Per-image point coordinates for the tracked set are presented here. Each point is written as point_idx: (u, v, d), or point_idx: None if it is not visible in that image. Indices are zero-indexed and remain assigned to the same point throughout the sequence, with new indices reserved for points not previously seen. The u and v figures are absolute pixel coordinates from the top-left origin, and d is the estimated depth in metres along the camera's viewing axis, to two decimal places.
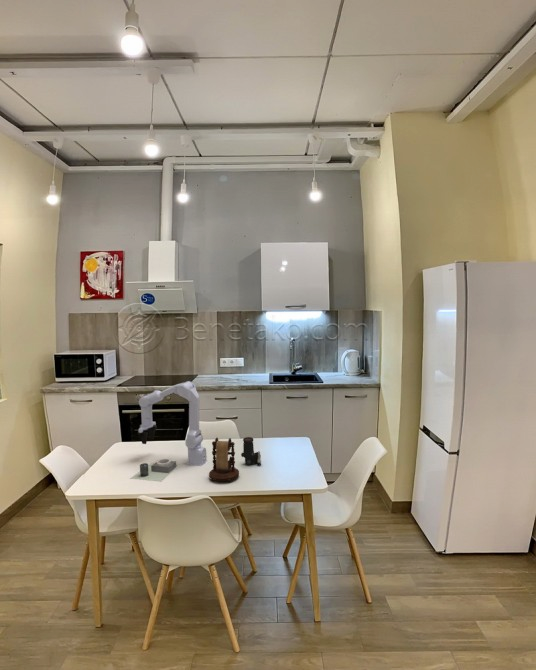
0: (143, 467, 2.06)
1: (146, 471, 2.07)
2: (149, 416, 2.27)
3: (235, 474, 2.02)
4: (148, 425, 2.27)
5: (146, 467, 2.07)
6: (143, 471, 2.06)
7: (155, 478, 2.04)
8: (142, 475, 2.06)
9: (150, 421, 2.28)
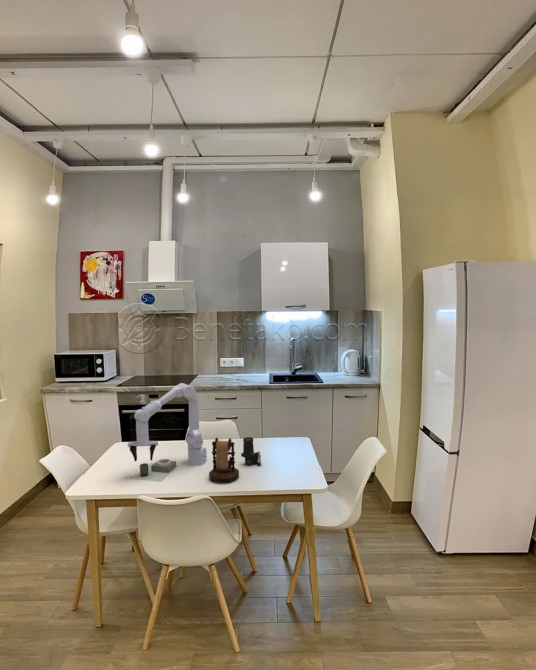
0: (143, 467, 2.06)
1: (146, 471, 2.07)
2: None
3: (235, 474, 2.02)
4: (137, 442, 2.05)
5: (146, 467, 2.07)
6: (143, 471, 2.06)
7: (155, 478, 2.04)
8: (142, 475, 2.06)
9: (139, 439, 2.04)
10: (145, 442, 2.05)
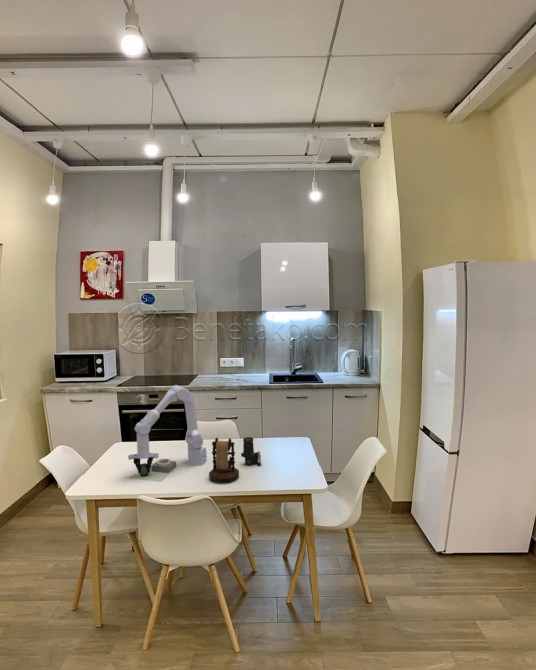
0: (143, 467, 2.06)
1: (146, 471, 2.07)
2: (148, 443, 2.07)
3: (235, 474, 2.02)
4: (138, 455, 2.05)
5: (146, 467, 2.07)
6: (143, 471, 2.06)
7: (155, 478, 2.04)
8: (142, 475, 2.06)
9: (140, 451, 2.05)
10: (146, 455, 2.05)
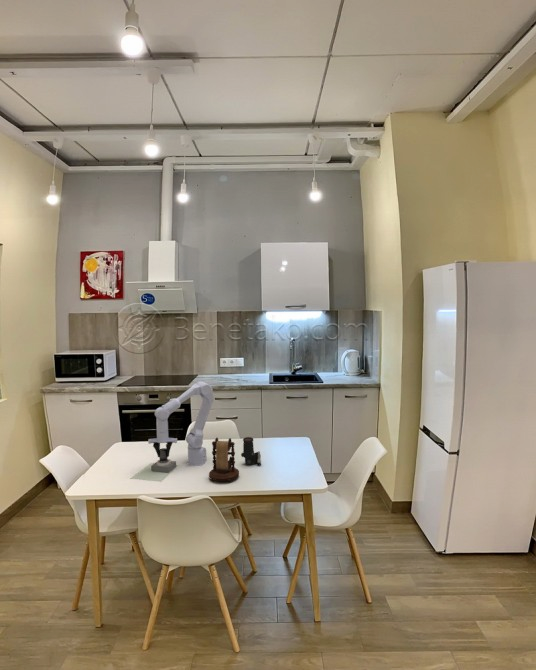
0: (162, 452, 2.13)
1: (165, 456, 2.13)
2: (167, 428, 2.14)
3: (235, 474, 2.02)
4: (157, 439, 2.12)
5: (165, 452, 2.13)
6: (162, 456, 2.13)
7: (155, 478, 2.04)
8: (161, 459, 2.13)
9: (159, 436, 2.11)
10: (165, 439, 2.12)
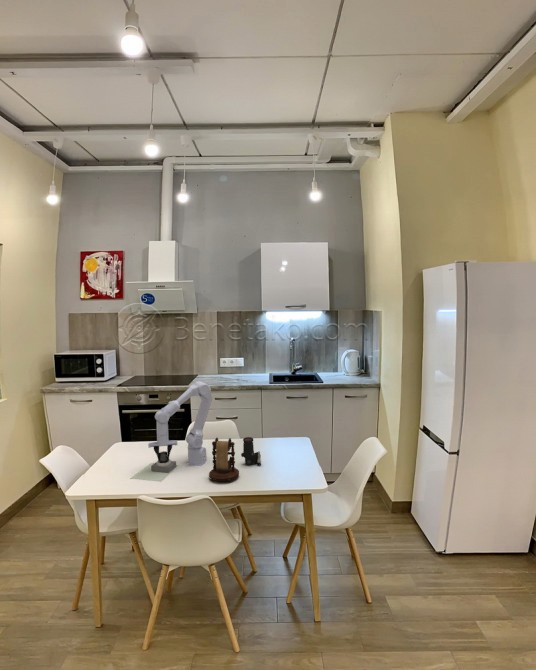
0: (163, 455, 2.13)
1: (165, 459, 2.14)
2: (167, 431, 2.14)
3: (235, 474, 2.02)
4: (158, 442, 2.12)
5: (165, 455, 2.14)
6: (163, 459, 2.13)
7: (155, 478, 2.04)
8: None
9: (160, 439, 2.11)
10: (166, 442, 2.12)
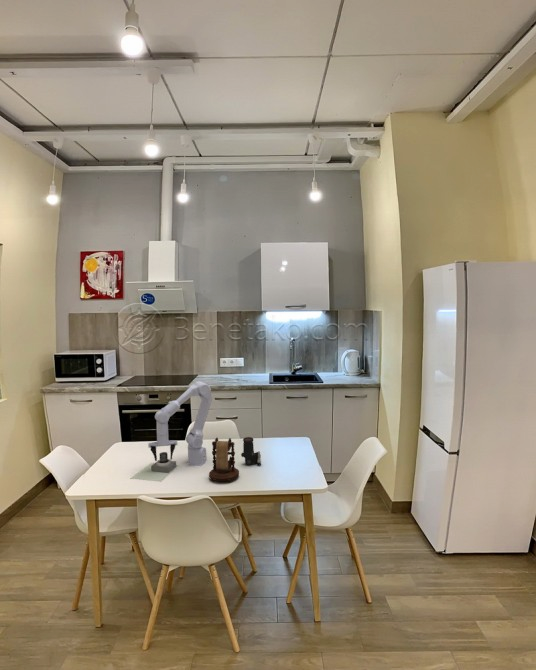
0: (163, 456, 2.13)
1: (165, 459, 2.14)
2: (167, 431, 2.14)
3: (235, 474, 2.02)
4: (158, 442, 2.12)
5: (166, 456, 2.14)
6: (163, 460, 2.13)
7: (155, 478, 2.04)
8: None
9: (160, 439, 2.11)
10: (166, 442, 2.12)
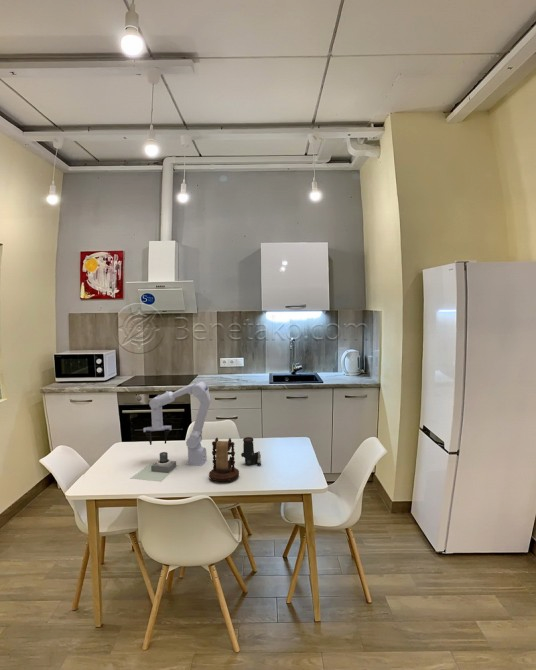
0: (163, 455, 2.13)
1: (165, 459, 2.14)
2: (160, 418, 2.23)
3: (235, 474, 2.02)
4: (153, 427, 2.22)
5: (166, 455, 2.14)
6: (163, 460, 2.13)
7: (155, 478, 2.04)
8: None
9: (155, 424, 2.22)
10: (160, 427, 2.23)
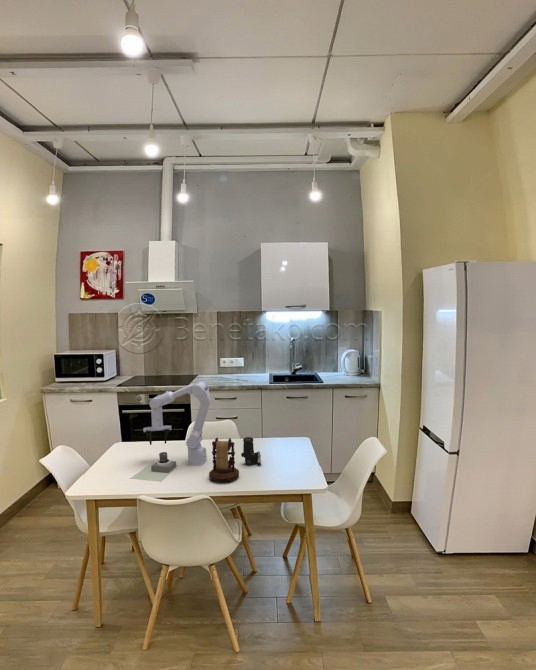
0: (162, 456, 2.13)
1: (165, 459, 2.14)
2: (160, 418, 2.23)
3: (235, 474, 2.02)
4: (153, 427, 2.22)
5: (165, 456, 2.14)
6: (163, 460, 2.13)
7: (155, 478, 2.04)
8: None
9: (155, 424, 2.22)
10: (160, 427, 2.23)
